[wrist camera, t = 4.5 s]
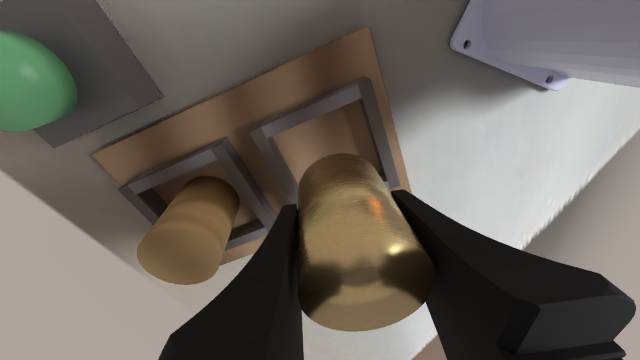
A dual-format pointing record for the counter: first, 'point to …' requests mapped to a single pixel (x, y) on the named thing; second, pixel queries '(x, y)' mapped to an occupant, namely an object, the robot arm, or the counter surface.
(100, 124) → the button box
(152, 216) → the wooden fixture board
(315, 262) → the cylinder
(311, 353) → the counter surface
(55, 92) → the button
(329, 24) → the counter surface
